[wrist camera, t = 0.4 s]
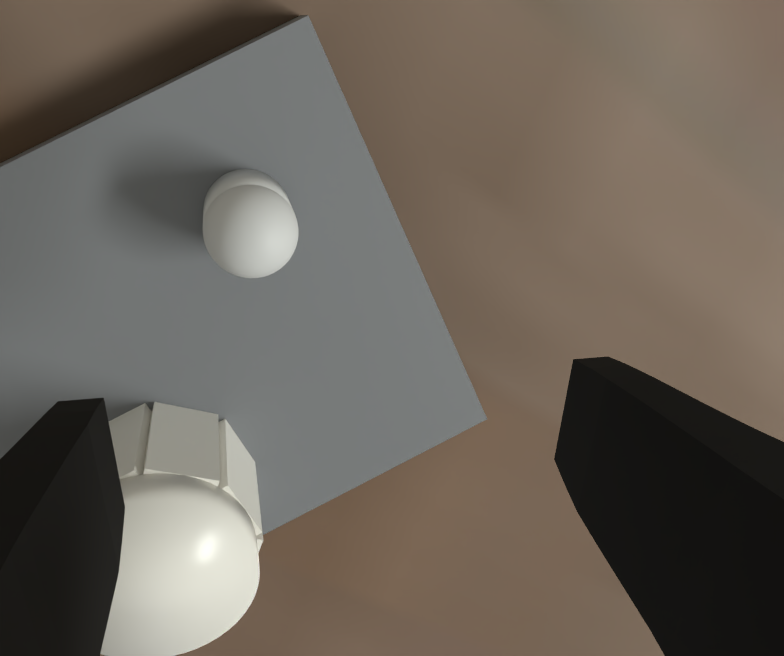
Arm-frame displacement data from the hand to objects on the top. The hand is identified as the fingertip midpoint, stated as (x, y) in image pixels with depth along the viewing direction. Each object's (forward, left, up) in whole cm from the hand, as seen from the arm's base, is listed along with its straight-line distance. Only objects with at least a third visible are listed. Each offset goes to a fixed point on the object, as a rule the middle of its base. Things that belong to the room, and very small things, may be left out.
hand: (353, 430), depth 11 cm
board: (-3, -1, -10) cm, 11 cm away
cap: (-6, -4, -9) cm, 12 cm away
